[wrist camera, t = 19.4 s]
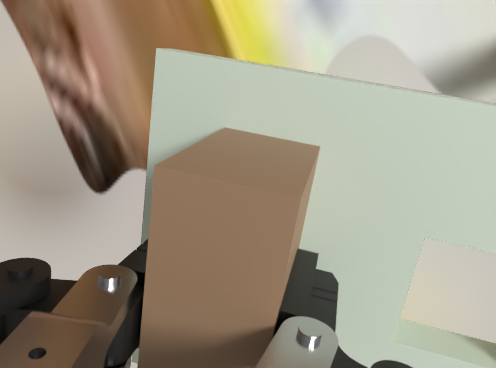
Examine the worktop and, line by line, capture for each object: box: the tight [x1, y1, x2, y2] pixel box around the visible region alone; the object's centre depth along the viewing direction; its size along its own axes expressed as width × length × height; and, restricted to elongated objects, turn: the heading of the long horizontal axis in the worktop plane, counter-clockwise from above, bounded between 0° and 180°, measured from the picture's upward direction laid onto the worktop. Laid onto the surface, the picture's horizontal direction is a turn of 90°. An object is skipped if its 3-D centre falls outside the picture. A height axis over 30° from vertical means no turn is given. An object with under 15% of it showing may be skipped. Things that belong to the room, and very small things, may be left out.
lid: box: [132, 48, 496, 368], centre depth 12 cm, size 14×12×6 cm
